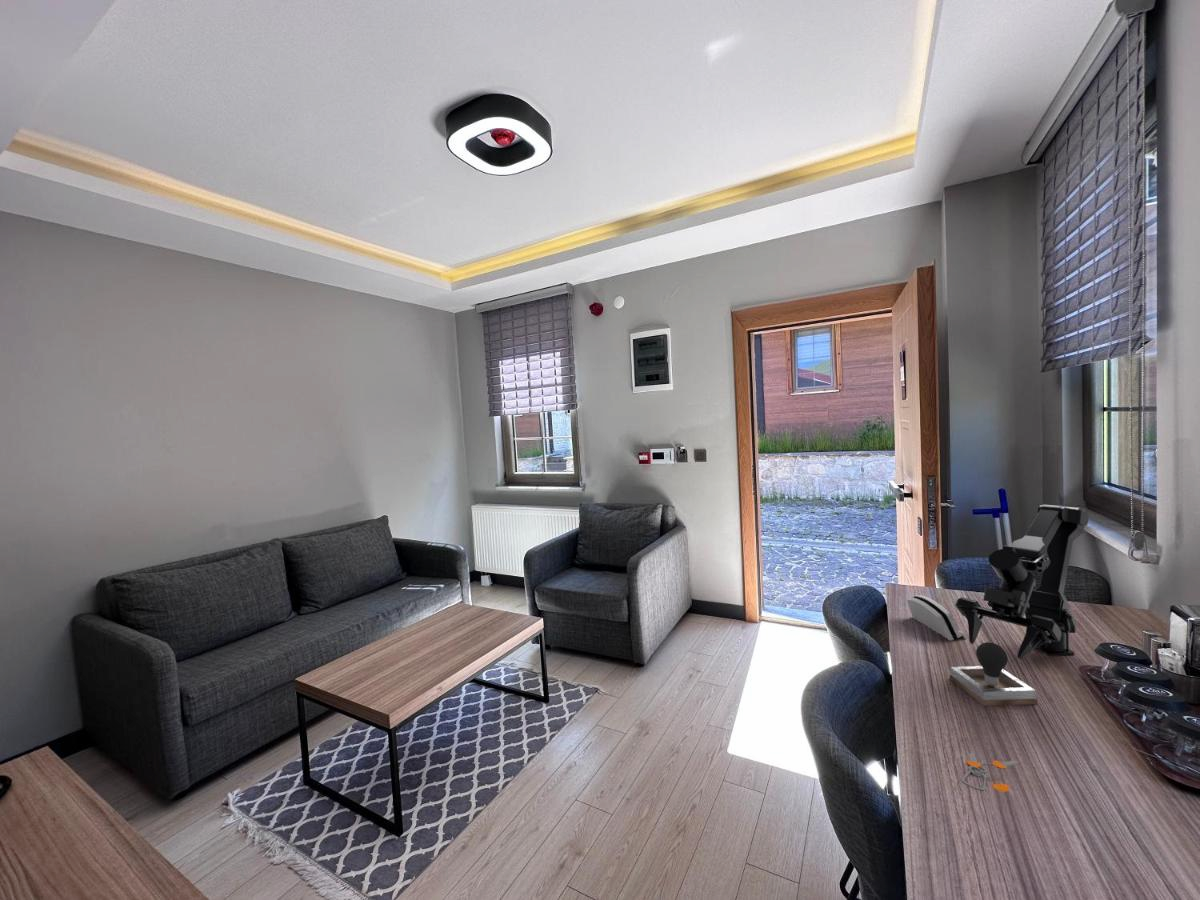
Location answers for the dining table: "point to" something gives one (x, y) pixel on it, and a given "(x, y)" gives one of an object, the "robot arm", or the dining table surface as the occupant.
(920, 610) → the white arched casing
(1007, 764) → the key chain
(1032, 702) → the socket board
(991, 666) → the light bulb
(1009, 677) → the socket collar
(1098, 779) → the dining table surface
